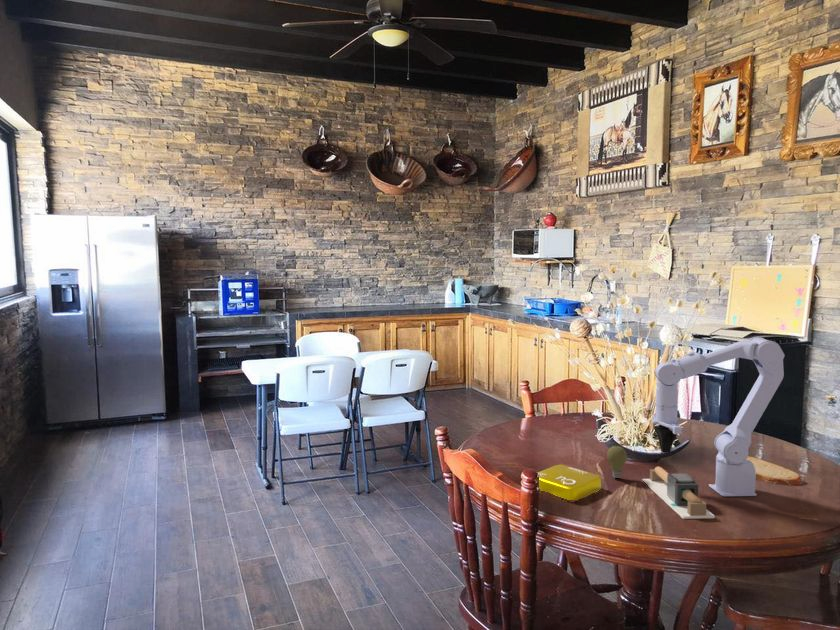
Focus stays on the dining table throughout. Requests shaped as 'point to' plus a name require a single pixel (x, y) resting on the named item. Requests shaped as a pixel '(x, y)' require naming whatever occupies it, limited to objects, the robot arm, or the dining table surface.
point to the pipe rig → (694, 506)
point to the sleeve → (677, 479)
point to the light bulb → (616, 460)
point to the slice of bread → (774, 473)
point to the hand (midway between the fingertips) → (665, 451)
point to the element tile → (568, 482)
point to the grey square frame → (684, 486)
